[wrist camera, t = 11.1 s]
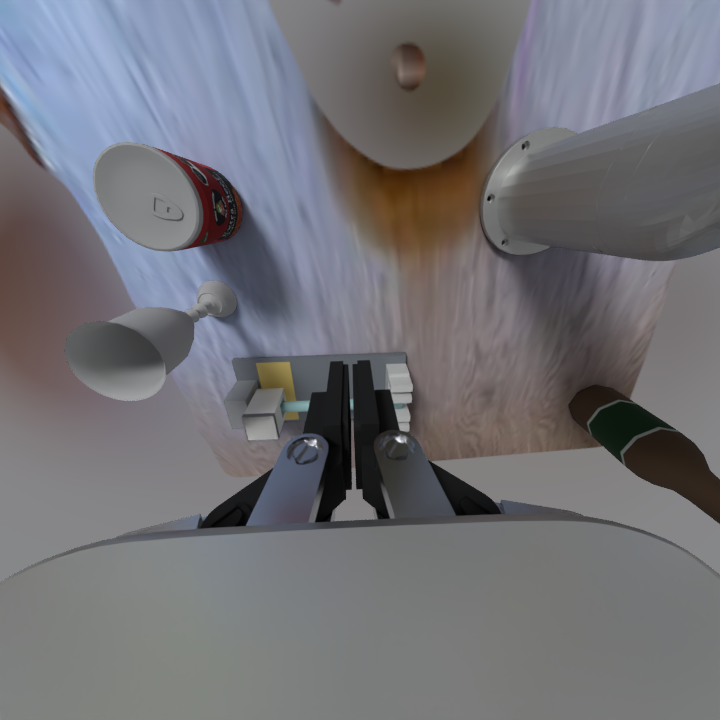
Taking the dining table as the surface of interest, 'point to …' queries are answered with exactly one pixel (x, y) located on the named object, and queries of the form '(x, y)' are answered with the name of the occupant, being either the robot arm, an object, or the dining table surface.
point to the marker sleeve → (264, 415)
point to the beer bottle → (647, 446)
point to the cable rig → (314, 382)
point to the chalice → (141, 344)
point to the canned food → (164, 198)
